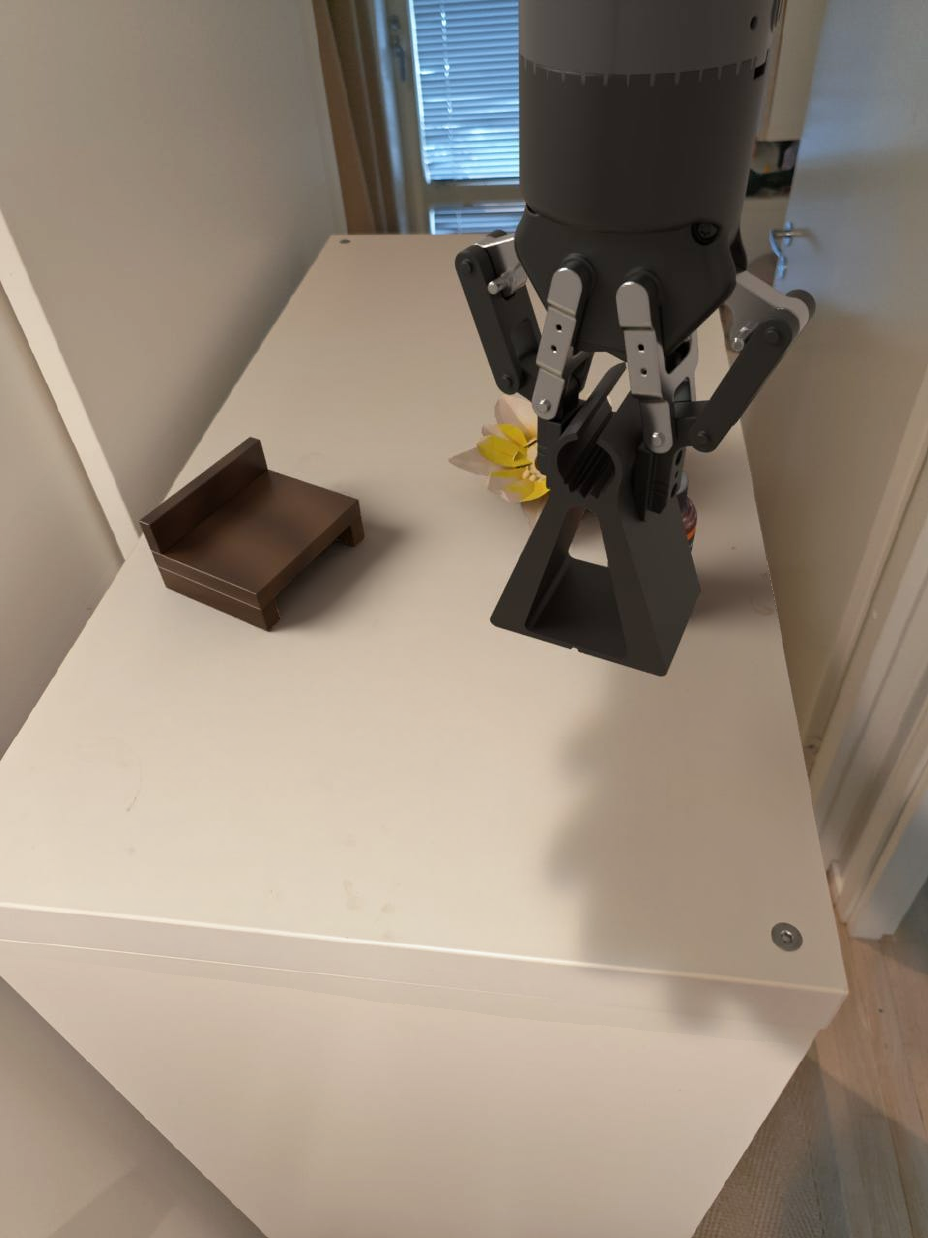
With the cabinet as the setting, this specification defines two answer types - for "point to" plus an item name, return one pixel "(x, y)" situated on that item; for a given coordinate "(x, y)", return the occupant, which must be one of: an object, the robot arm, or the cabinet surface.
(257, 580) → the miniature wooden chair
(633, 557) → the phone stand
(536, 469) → the decorative flower
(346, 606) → the cabinet surface
